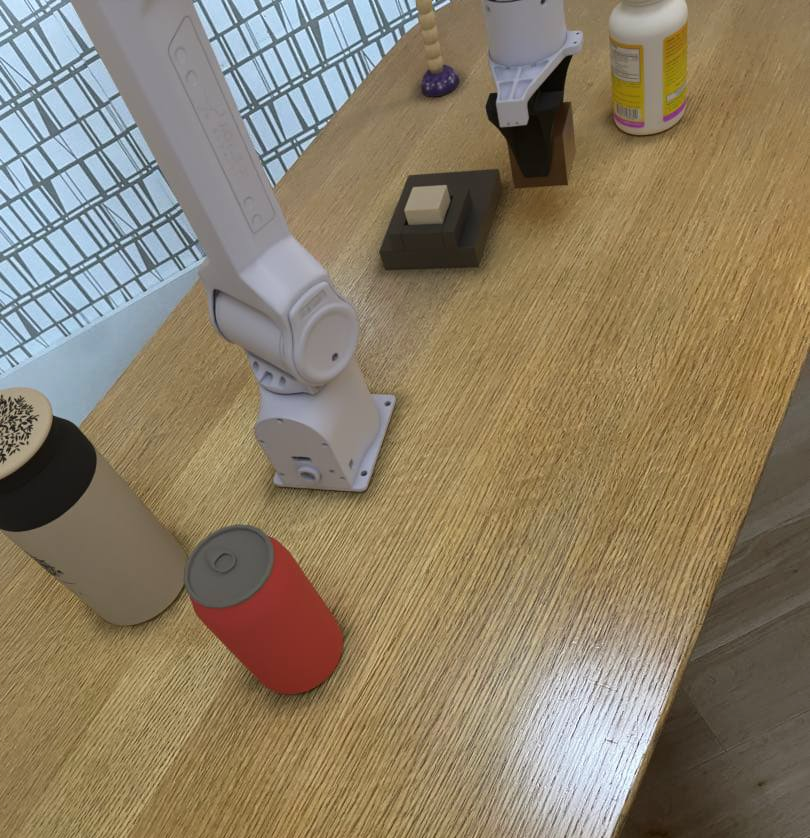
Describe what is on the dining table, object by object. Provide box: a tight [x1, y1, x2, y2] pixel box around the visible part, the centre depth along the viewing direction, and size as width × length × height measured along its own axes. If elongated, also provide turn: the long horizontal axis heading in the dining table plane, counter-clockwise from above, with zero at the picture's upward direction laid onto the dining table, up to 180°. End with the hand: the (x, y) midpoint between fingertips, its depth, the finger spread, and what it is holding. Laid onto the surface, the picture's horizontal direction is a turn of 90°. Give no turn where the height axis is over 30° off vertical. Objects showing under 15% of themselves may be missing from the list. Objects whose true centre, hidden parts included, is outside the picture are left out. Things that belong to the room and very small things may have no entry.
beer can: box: [183, 523, 344, 695], centre depth 53 cm, size 7×7×12 cm
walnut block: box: [506, 101, 577, 189], centre depth 69 cm, size 4×4×4 cm
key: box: [404, 185, 450, 225], centre depth 74 cm, size 3×3×2 cm
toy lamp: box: [414, 0, 460, 98], centre depth 86 cm, size 5×5×17 cm
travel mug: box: [0, 386, 188, 626], centre depth 57 cm, size 8×8×18 cm
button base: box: [378, 168, 503, 271], centre depth 77 cm, size 11×9×4 cm
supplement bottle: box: [608, 0, 689, 136], centre depth 75 cm, size 7×7×13 cm
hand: (541, 155), depth 70 cm, fingers closed on walnut block, 4 cm apart
